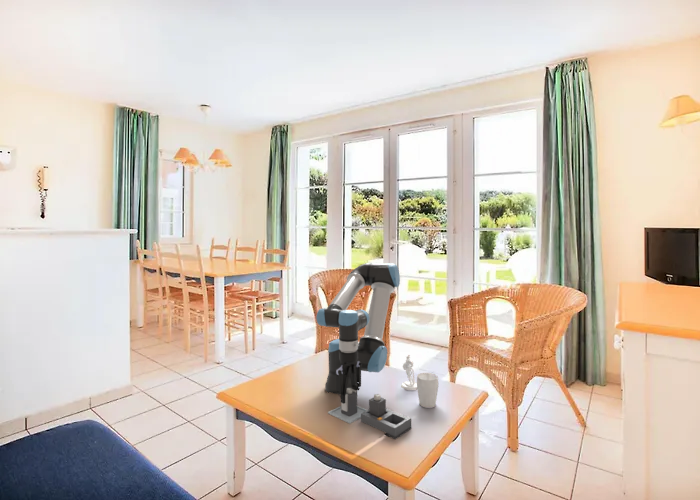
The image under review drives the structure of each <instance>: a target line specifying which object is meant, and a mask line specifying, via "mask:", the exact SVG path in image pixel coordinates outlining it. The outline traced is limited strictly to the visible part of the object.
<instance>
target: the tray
mask: <svg viewBox="0 0 700 500" xmlns="http://www.w3.org/2000/svg"><path fill="white" fill-rule="evenodd" d="M367 410H368V409H366V408H364V407H362V406H359V405H357V413H356V414H354V415H352V416H350V417H349V416H347V415H345V414H342V413H341V405H339V406H337V407H336V408H333V409H331V410H329V411H327V414H328V415H330V416H333V417H335V418H336V419H338V420H341V421H343V422H345V423H347V424H352V423H354V422H356V421H357V420H359V419H361V413H363V412H365V411H367Z"/></svg>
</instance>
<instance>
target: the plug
mask: <svg viewBox="0 0 700 500" xmlns="http://www.w3.org/2000/svg"><path fill="white" fill-rule="evenodd" d="M346 394H347V395H348V411H347V412H346V411H344V410H342V405H341V404H340V406H341V413H342V414H345V415H347V416H349V417H350V416H352V415H354V414H356V413H357V406H358V392H357V393H356V392H353V391H352V388H347V391H346Z"/></svg>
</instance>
